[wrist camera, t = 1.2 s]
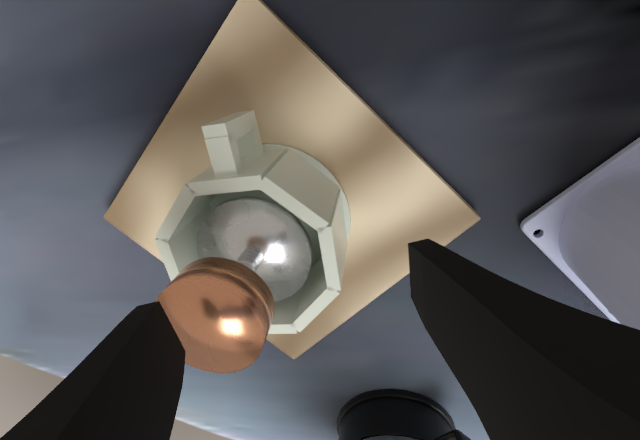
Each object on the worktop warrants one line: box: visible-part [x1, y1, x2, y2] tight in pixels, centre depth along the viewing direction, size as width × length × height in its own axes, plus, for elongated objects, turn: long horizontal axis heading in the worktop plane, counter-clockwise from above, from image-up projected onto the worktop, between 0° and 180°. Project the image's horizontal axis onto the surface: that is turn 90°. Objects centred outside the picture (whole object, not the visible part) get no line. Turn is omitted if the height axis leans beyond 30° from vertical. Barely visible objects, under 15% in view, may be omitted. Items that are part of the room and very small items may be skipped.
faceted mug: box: [155, 110, 351, 334], centre depth 17 cm, size 11×9×5 cm
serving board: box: [103, 0, 481, 360], centre depth 20 cm, size 16×16×1 cm
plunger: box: [155, 196, 313, 373], centre depth 14 cm, size 6×6×6 cm
